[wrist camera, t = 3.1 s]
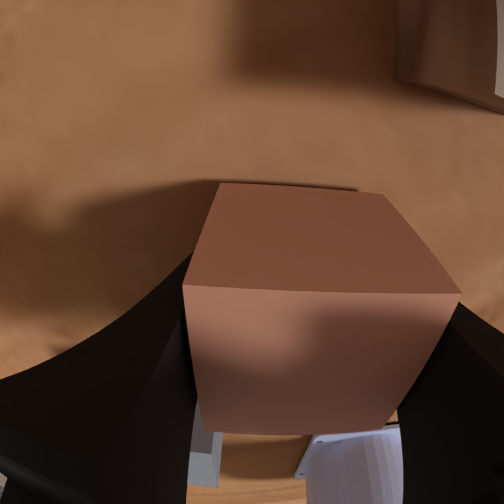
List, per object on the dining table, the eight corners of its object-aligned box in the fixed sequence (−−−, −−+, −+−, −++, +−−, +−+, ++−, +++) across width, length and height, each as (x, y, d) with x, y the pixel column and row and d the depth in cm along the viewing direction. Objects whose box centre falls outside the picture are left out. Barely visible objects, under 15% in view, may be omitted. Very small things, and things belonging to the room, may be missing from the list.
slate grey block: (225, 410, 17) (218, 487, 13) (143, 400, 17) (124, 471, 13) (222, 357, 14) (211, 454, 10) (123, 346, 14) (90, 431, 10)
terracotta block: (352, 316, 12) (381, 429, 7) (222, 312, 12) (204, 430, 8) (383, 194, 9) (462, 293, 5) (220, 182, 9) (182, 285, 5)
